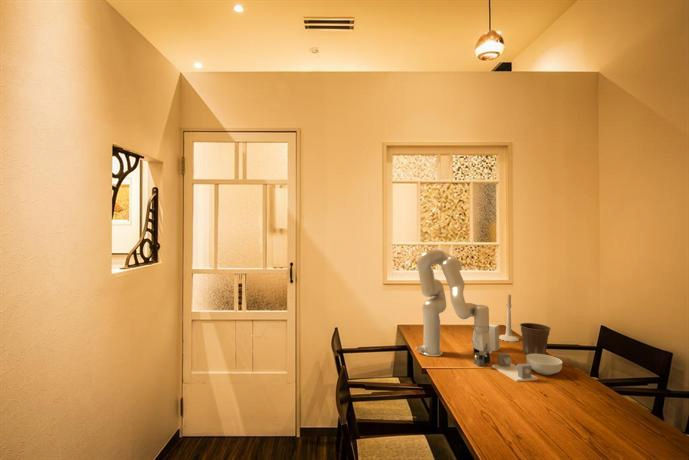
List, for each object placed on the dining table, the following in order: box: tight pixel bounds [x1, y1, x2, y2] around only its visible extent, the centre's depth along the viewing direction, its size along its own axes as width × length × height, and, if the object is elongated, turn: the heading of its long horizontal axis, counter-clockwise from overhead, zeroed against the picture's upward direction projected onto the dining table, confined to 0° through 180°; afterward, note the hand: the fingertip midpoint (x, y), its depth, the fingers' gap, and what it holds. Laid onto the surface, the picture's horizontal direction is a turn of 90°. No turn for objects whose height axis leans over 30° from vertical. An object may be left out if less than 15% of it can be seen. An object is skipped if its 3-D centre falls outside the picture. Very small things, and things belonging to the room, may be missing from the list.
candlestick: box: [499, 293, 520, 343], centre depth 255 cm, size 13×13×30 cm
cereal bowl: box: [525, 354, 563, 376], centre depth 198 cm, size 17×17×7 cm
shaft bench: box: [491, 352, 539, 383], centre depth 196 cm, size 12×20×7 cm, turn 13°
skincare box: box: [489, 323, 501, 352], centre depth 234 cm, size 8×6×15 cm
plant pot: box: [519, 322, 552, 355], centre depth 227 cm, size 16×16×16 cm
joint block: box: [473, 351, 488, 367], centre depth 208 cm, size 7×4×6 cm
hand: (481, 360), depth 207 cm, fingers open, 9 cm apart
